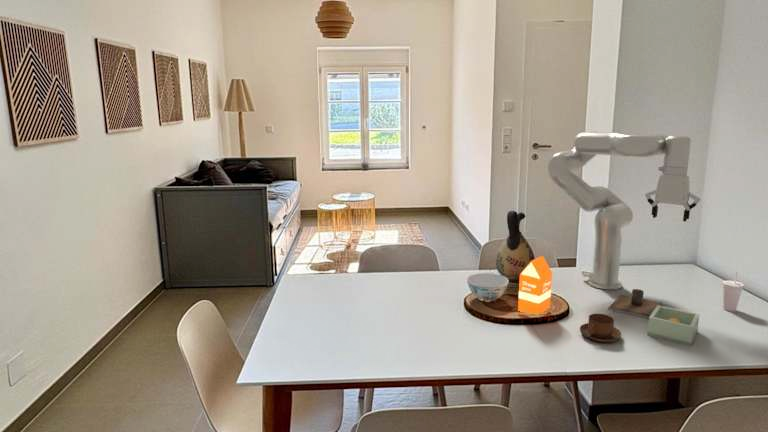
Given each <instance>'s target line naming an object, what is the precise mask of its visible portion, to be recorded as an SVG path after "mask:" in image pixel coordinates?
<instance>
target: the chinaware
mask: <svg viewBox="0 0 768 432" xmlns="http://www.w3.org/2000/svg"><path fill="white" fill-rule="evenodd" d="M466 280H467V285H468V288H469V289H470V291H471V293H472V294H473V295H474V296H475V297H477V299H478V298H480V299H484V300H494V299H496V300H497V299H499V298H501V296H503V294H505V292H506V291H507V288H508V286H509V284H508V283H509V280H508V279H507V278H506V277H504V276H501V275H500V274H497V273H491V272H490V273H489V272H483V273H482V272H480V273H479V272H478V273H473V274H471V275H468V276H467V279H466Z"/></svg>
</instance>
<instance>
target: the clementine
mask: <svg viewBox="0 0 768 432" xmlns="http://www.w3.org/2000/svg"><path fill="white" fill-rule="evenodd" d="M668 320H669V321H674V322H678V323H680V322H679V320H677V319H675V318H670V319H668Z"/></svg>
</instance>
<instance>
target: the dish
mask: <svg viewBox="0 0 768 432" xmlns="http://www.w3.org/2000/svg"><path fill="white" fill-rule="evenodd" d="M700 315H701V314H700V313H696V312H691V311H688V310H687V311H686V310H681V309H676V308H671V307H667V306H664V307H663V306H658V305H657V307H656V308H655V310H654V311H653V312H652V314H651V315H650V317H649V319H648V324H647V331H646V332H647V333H646V335H647V336H650V337H653V338H658V339H662V340H666V341H670V342H674V343H678V344H682V345H686V346H690V347H691V346H692V344H693V342H694V340H695V338H696V335H697V334H698V330H699V323H700V322H699V321H700ZM670 318H675V319H677V320H679V322H680V323H678V322H674V321H669V320H668V319H670Z"/></svg>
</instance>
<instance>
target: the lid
mask: <svg viewBox="0 0 768 432" xmlns="http://www.w3.org/2000/svg"><path fill="white" fill-rule="evenodd" d="M644 294H645V293H644V290H642V289H638V288H634V289H633V288H632V290H631V295H626V294H620V295H618V296H617V297H616V299H614V301H613V302H612V303H611V304H610V305H609V307H610V308H612V309H617V310H621V311H626V312H630V313H635V314H639V315H643V316H648V317H650V315H651V314H652V312H653V311H654V310H655V308H656V307H657V305H658V306H662V305H664V304H663V302H660V301H655V300H651V299H647V298H644Z"/></svg>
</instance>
